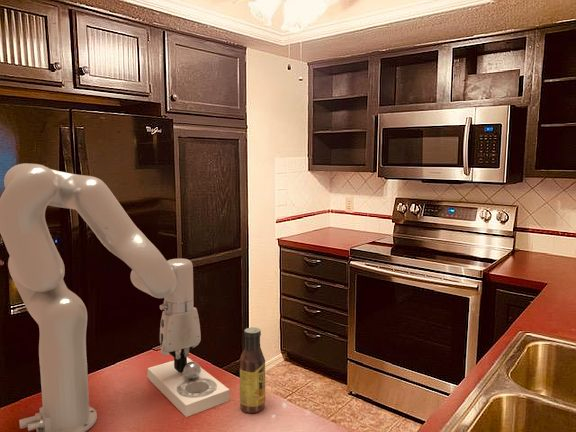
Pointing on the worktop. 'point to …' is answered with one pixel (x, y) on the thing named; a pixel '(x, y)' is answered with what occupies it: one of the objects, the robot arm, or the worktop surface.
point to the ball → (192, 370)
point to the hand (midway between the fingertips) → (180, 370)
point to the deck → (188, 388)
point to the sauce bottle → (252, 373)
